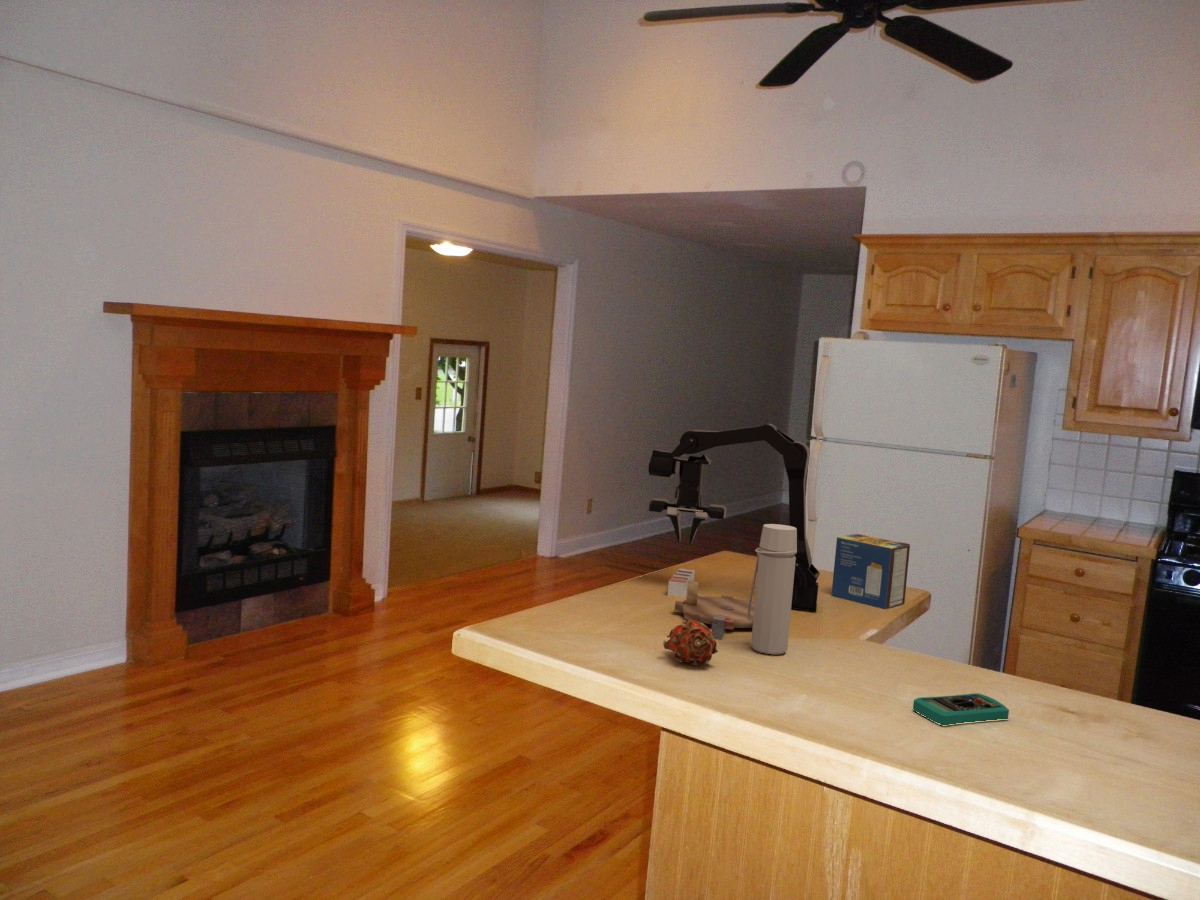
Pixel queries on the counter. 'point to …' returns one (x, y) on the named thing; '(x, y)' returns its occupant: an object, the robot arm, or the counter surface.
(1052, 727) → the counter surface
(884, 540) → the protein box
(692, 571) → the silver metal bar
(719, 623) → the pointer
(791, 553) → the water bottle
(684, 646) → the dragon fruit
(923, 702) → the digital multimeter
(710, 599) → the flat round disc
